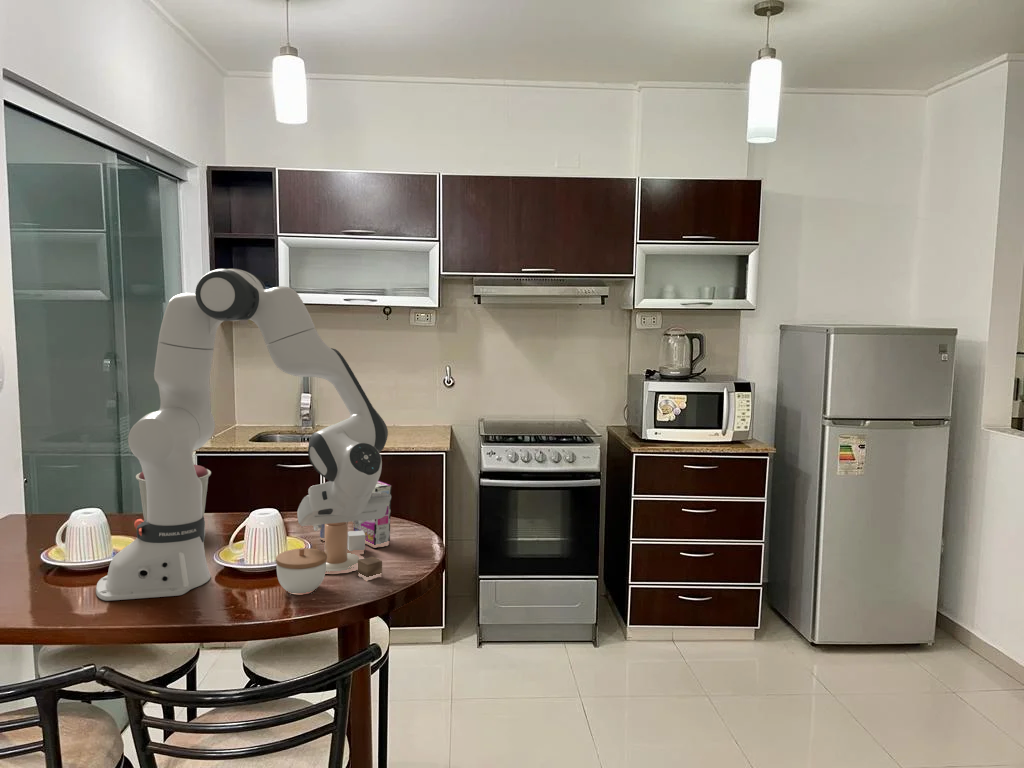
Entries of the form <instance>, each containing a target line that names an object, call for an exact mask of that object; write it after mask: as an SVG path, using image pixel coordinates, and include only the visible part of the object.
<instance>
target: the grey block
mask: <svg viewBox="0 0 1024 768" xmlns="http://www.w3.org/2000/svg"><path fill="white" fill-rule="evenodd" d="M364 549H365V550H366V545H365V533H364V531H354V530H348V550H349V551H353V550H364Z"/></svg>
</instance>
